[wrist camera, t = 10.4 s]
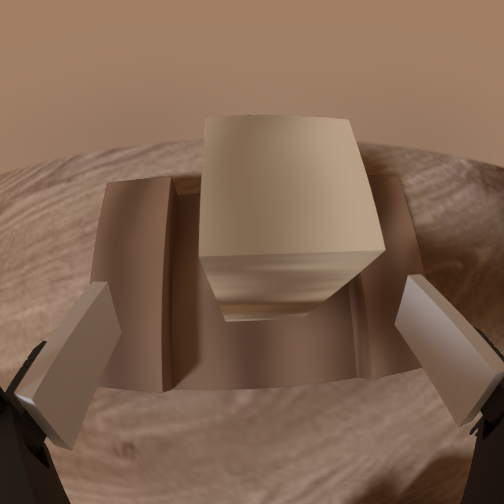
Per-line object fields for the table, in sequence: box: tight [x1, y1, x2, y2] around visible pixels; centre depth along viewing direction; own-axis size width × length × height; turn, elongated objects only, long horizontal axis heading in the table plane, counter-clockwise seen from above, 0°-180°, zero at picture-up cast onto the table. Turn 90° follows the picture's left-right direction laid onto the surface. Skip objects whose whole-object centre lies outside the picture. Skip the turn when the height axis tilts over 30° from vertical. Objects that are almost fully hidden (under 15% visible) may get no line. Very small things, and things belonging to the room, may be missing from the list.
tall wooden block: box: [199, 115, 385, 322], centre depth 14 cm, size 5×5×12 cm
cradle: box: [90, 175, 426, 393], centre depth 19 cm, size 22×14×3 cm, turn 93°
